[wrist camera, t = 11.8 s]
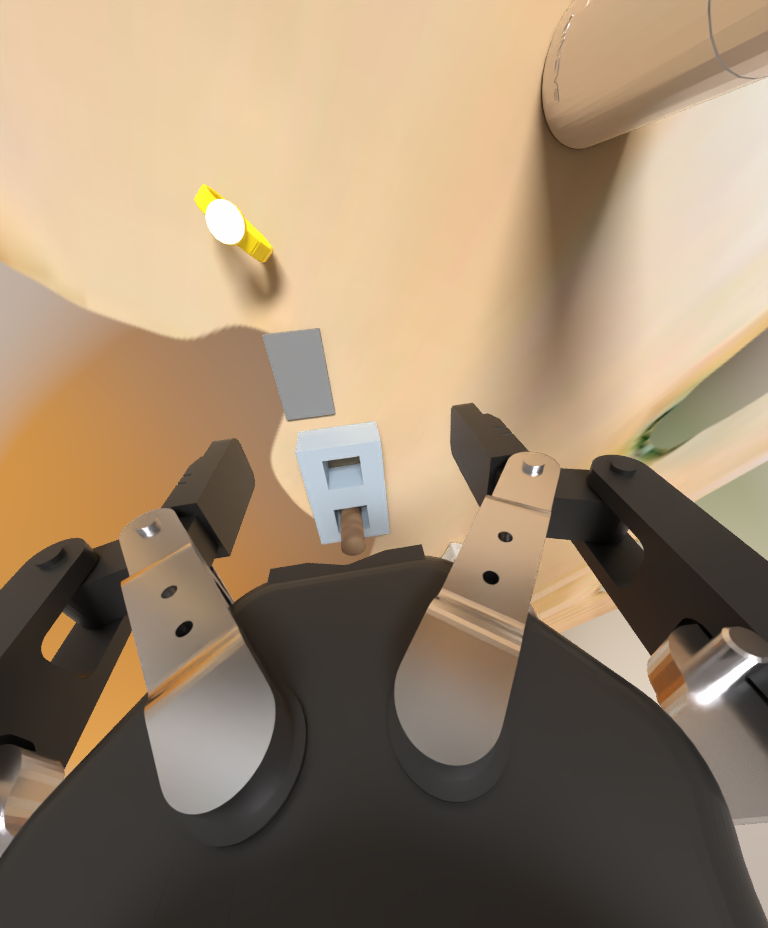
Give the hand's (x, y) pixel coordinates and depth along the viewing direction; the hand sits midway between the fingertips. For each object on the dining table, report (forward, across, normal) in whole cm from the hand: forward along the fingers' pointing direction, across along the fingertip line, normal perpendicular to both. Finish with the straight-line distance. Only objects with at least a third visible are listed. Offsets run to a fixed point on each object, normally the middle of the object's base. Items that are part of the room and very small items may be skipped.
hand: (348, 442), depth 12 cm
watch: (+26, +8, -8) cm, 29 cm away
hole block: (+26, +3, +21) cm, 33 cm away
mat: (+26, +6, +6) cm, 27 cm away
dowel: (+26, +4, +25) cm, 36 cm away
